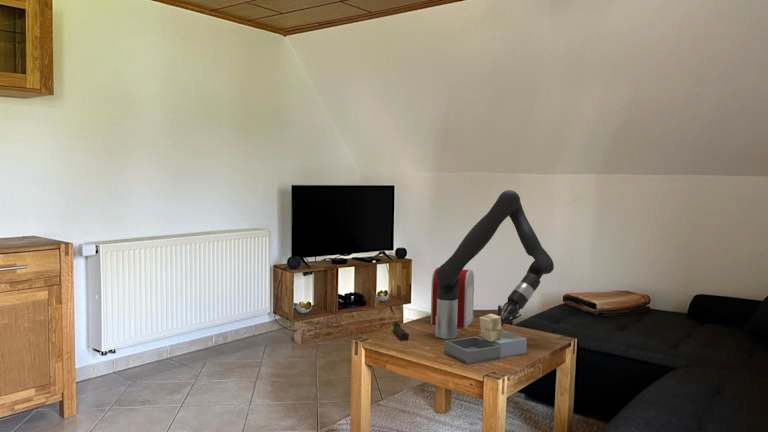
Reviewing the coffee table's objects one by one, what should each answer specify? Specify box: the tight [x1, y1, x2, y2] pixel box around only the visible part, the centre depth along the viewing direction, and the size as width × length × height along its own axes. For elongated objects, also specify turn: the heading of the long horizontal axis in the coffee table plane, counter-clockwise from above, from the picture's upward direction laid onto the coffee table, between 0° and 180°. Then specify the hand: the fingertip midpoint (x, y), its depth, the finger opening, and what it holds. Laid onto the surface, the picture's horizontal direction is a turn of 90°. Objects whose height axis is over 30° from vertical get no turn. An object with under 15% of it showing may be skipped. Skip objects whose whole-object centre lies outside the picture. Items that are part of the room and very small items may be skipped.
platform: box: [478, 330, 528, 359], centre depth 250 cm, size 14×14×6 cm
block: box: [479, 313, 503, 342], centre depth 246 cm, size 6×6×9 cm
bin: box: [443, 335, 501, 365], centre depth 243 cm, size 16×16×5 cm
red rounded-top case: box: [430, 266, 475, 329], centre depth 295 cm, size 16×18×27 cm
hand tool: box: [393, 321, 410, 342], centre depth 272 cm, size 19×4×5 cm, turn 10°
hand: (497, 327), depth 248 cm, fingers closed
